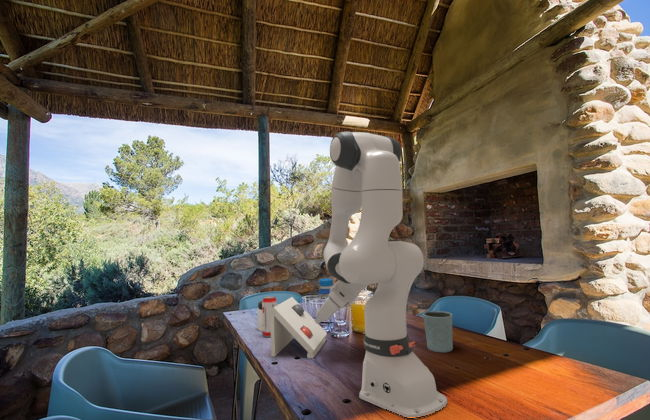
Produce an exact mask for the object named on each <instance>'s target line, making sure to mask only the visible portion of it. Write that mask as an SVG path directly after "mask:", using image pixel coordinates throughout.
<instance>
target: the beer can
mask: <svg viewBox="0 0 650 420" xmlns="http://www.w3.org/2000/svg"><path fill="white" fill-rule="evenodd" d="M277 305H278V301H277V298H276V296H275V295H267V296H264V297H263V298H262V320H263V332H262V335H263V336H264V337H265V338H271V323H270V311H271V310H272V309H273V308H274V307H275V306H277Z"/></svg>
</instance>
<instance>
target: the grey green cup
mask: <svg viewBox="0 0 650 420" xmlns="http://www.w3.org/2000/svg"><path fill="white" fill-rule="evenodd" d="M422 318H423V323H424V324H423V325H424V332H425V339H426V346H427V350H430V351H432V352H435V353H449V352H452V351H453V349H454V346H453V345H454V343H453V313H451V312H449V311H442V310H441V311H440V310H434V311H433V310H429V311H424V312H423V313H422Z"/></svg>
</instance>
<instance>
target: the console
mask: <svg viewBox="0 0 650 420" xmlns="http://www.w3.org/2000/svg"><path fill="white" fill-rule="evenodd" d="M297 304H299V305H300V306H302V305H301V304H300V303H299V301H297V300H295V298H294V297H293V296H291V297H289V298H288V299H286V300H284V301H282V302H281V303H279V304H277V306H275V307H274V308H273V309H272V310H271V311H270V323H271V337H270V353H271V355H270V357H274V358H275V357H276V356H277V355H278V354H279V353H280V352H281V351H282V350H284V348H285V347H286V346H287V345H289V343H291V342H292V341H293V340H294V339H295V340H296V341H297V342H298V344H300V345H301V346H302V347H303V349H305V350H306V352H307V354H306V357H307V358H306V359H314V358H315V356H316V355H317V354H318V352H319V351H320V350H321V348H322V347H323V345H324V344H325V343H326V341H327V334H328V333H327V331H326V330H325V329H324V328H323V327H321V325H320V323H319V324H317V323H316V322H315V318H313V317H312V316H311V315H310V314H309V312H307V311H306V310H305V309H304V313H303V314H302V315H301V316H299V315H298V314H297V313H296V312H295V311H294V310H293V308H294V307H295V306H296V305H297ZM304 326H306V327H308V328H309V329H310V330H311V332H312V335H311V336H310V338H308V337H307V336H306V335H305V334H304V333H303V332H302V331H301V329H302V328H303V327H304Z"/></svg>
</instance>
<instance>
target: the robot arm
mask: <svg viewBox="0 0 650 420" xmlns="http://www.w3.org/2000/svg"><path fill="white" fill-rule="evenodd" d="M329 146H330V147H329V156H330V160H331V162H332V163H333V165H335V167H334V172H333V176H332V181H331V191H330V199H331V200H330V202H331V221H330V228H329V233H328V238H327V240H326V241H325V243H324V244H323V247H322V249H321V256H322V257H321V258H322V259H323V261H324V263H325V266H326V270H327V272H328V273H329V275H330V276H332V277H333V278H335V279H337V280H336V282H335V283H333V286H332V287H331V289H330V293H329V297H328V298H327V300H326V301H325V302H324V304H323V305H322V306H321V308H320V309H319V308H318V310H317V312H316V314H315V317H316V318H314V320H315V322H316V323H317V324H319V325H320V323H321V321H322V322H324V321H326V320H327V319H328V318H329V317H331V316H332V315H333V314H334V313H335V314H336V312H338V311H339V310H340V309H345V307H350V306H351V305H352V303H353V302H355V300H357V298H358V297H359V295H360V293H361V292H362V291H363V290H365V289H367V288H368V286H369V285H374V284H375V285H376V284H377V286H376V289H375V292H374V293H373V294H372V296H370V297H369V298H368V300H367V301H366V302H365V305H364V308H363V311H364V330H365V331H364V333H363V348H364V350H365V355H364V359H363V361H362V372H361V373H362V375H361V376H362V378H361V379H362V380H361V387H360V388H361V389H360V391H359V395H358V397H359V399H360V400H363V401H365V402H368V403H371V404H372V405H374V406H377V407H380V408H381V409H384V410H386V409H387V411H388V410H389V411H388V412H390V411H392V412H391V413H393V412H395V413H397V414H399V415H398V416H400V415H402V416H405V417H408V418H409V417H418V416H419V417H420V416H425V415H427V414H430V413H433V412H435V411H438V410H440V409H441V410H443V409H444V408H445V407H446V406H447V405H446V404H448V397H447V396H446V395H444V394H442V393H440V392H439V391H438V390H437V385H436V379H435V377H434V375H433V373H432V372H431V371H430V370H429V368H428V367H427V366H426V365H425V364H424V363H423V362H422V360H421V359H420V358H419V357H418V356H417V355H416V353H414V348H413V347H416V344H415V343H416V341H411V339H410V336H409V334H408V333H407V332H408V331H407V329H408V328H407V305H408V304H407V303H408V298H409V294H410V291H411V287H412V285H413V283H414V281H415V280H416V278H417V276H419V274H421V272H422V270H423V268H424V262H425V259H424V254H423V251H422V250H421V249H420V247H419V246H418V245H416V244H415V243H412V242H407V241H401V240H392V241H389V238H390V234H391V232H392V231H393V229H395V227H397V226H398V225H399V224H400V223H401V222H402V220H403V217H404V216H403V213H404V212H403V179H402V172H401V166H400V162H401V159H402V147H401V143H400V142H399V141H398V140H397V139H395V138H394V137H391V136H388V135H385V136H384V135H380V134H374V133H370V132H363V131H362V132H361V131H359V132H358V131H352V132H351V131H349V130H347V131H341V132H337V133H335V135H334V136H333V138H332V139H331V142H330V145H329ZM359 211H360V212H361V215H360V222H359V225H358V228H357V231H356V233H355V235H354V237H353V239H352V240H351V242H350V243H349V244H347V236H348V228H349V222H350V220H351V217H352V216H353V215H355V214H357V213H359ZM443 407H444V408H443ZM442 408H443V409H442ZM441 410H440V411H441ZM438 412H439V411H438ZM395 413H394V414H395ZM397 414H396V415H397ZM402 416H401V417H402ZM425 417H426V416H425Z"/></svg>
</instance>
